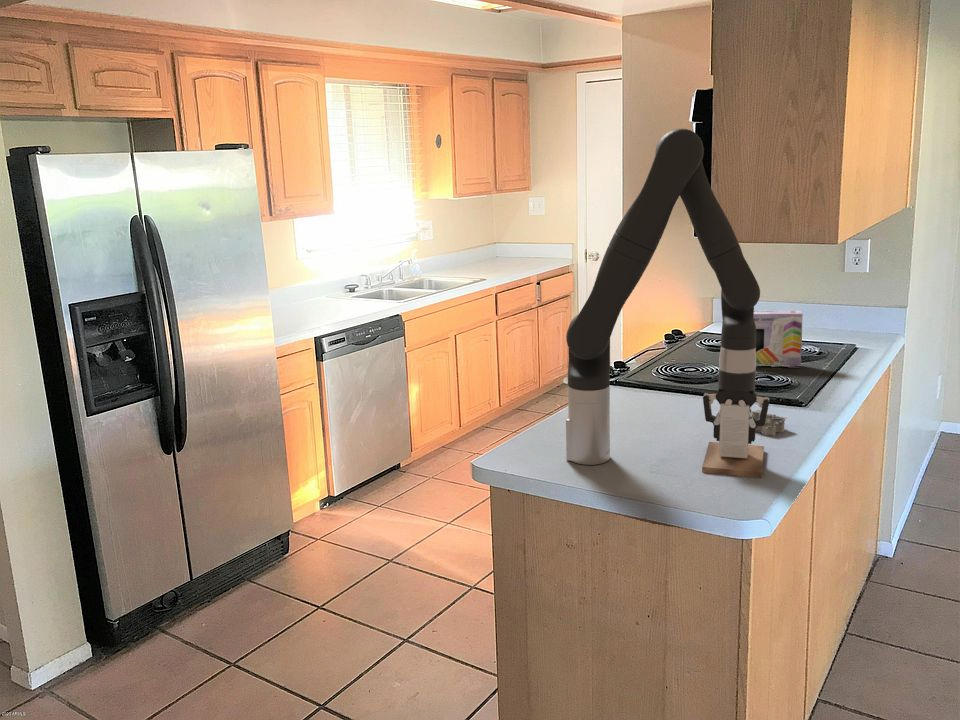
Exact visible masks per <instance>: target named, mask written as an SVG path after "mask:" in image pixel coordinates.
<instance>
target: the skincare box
mask: <svg viewBox="0 0 960 720" xmlns="http://www.w3.org/2000/svg"><path fill="white" fill-rule="evenodd" d="M724 404H725V403H721V405H720V404H719V405H720V406H719V407H720V408H719V410H720V441H718V442H719V456H720V457H734V458H747V457H748V445H749V444H748V435H749V407H750V406H749V405H747V406H743V407H741V406H740V405H738V404H731V405H730V406H729V405H724ZM750 408H751V407H750Z"/></svg>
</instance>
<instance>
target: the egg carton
mask: <svg viewBox="0 0 960 720" xmlns="http://www.w3.org/2000/svg"><path fill="white" fill-rule="evenodd" d="M752 413H753V416H754V418H755V419H759V418H760V414H761V409H758V410H753V411H752ZM787 419H788V416H787V417H783V416H779V415H776V414H772V413H767V416H766V420H765V425H764V426H757V427H756V432H759V433H761V434H762V435H764V436H775V435H776V433H784V432H785V421H786V420H787Z"/></svg>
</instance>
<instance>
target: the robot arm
mask: <svg viewBox="0 0 960 720" xmlns="http://www.w3.org/2000/svg"><path fill="white" fill-rule="evenodd" d="M704 151H705V149H704V144H703V141H702V140H701V138H700V136H699V135H698V134H697V132H695V131H693V130H690V129H688V128H676V129H675V128H674V129H672V130H670V131H668V132H666V133H665V134H664V135H662V136H661V137H660V139H659V140H658V142H657V145H656V147H655V155H654V158H653V161H652V164H651V167H650V169H649V171H648V175H647V177H646V179H645V181H644V184H643V186H642V187H641V190H640V191H639V193H638V195H637V197H636V198H635V199H634V200H633V202H632V203H631V205H630V206H629V208H628V209H627V211H626V212H625V214H624V215H623V217H622V219H621V220H620V222H619V224H618V226H617V227H616V229H615V232H614V234H613V235H612V237H611V239H610V242H609V243H608V245H607V248H606V250H605V252H604V255H603V258H602V260H601V264H600V265H599V269H598V272H597V274H596V278H595V281H594V284H593V287H592V289H591V291H590V294H589V296H588V298H587V299H586V301H585V303H584V305H583V307H582V308H581V310H580V311H579V313H578V314H577V315H576V316H574V317H573V319H571V321H570V323H569V324H568V328H567V331H566V336H565V338H566V340H565V341H566V344H567V348H568V349H567V350H568V365H567V368H568V369H567V399H568V401H567V405H568V407H567V409H568V416H567V419H565V441H566V442H565V444H566V445H565V446H566V447H565V450H566V451H565V452H566V458H565V459H566V461H571V462H573V463H575V464H579V465H588V466H589V465H590V466H592V465H593V466H595V465H600V464H605V463H607V462H608V461H609V460H610V459H611V458H610V457H611V435H610V434H611V414H610V413H611V410H610V409H611V408H610V407H611V405H610V404H611V403H610V402H611V400H610V399H611V397H610V395H611V393H610V391H611V389H610V388H611V386H610V385H611V384H610V383H611V382H610V381H611V380H610V379H611V336H612V334H613V331H614V329H615V325H616V323H617V321H618V318H619V316H620V314H621V311H622V310H623V307H624V305H625V304H626V302H627V300H628V299H629V297H630V296H631V294H632V293H633V291H634V290H635V288H636V287H637V285H638V283H639V282H640V280H641V278H642V277H643V275H644V273H645V271H646V269H647V268H648V266H649V264H650V262H651V260H652V258H653V256H654V254H655V252H656V250H657V248H658V246H659V244H660V241H661V239H662V237H663V234H664V233H665V230H666V227H667V224H668V223H669V219H670V217H671V214H672V212H673V209H674V208H675V204H676V202H677V200H678V199H679V198H680V199H681V201H682V203H683V205H684V207H685V210H686V212H687V214H688V216H689V219H690V223H691V224H692V227H693V230H694V233H695V235H696V237H697V240H698V242H699V244H700V247H701V249H702V252H703V254H704V256H705V258H706V261H707V263H708V264H709V266H710V267H711V269H712V271H713V272H714V273H715V275H716V279H717V281H718V283H719V286H720V288H721V291H720V293H721V294H720V296H721V297H720V302H721V303H720V305H721V306H720V307H721V319H722V321H721V323H722V324H721V333H720V334H721V335H720V336H721V340H720V341H721V342H720V350H719V351H720V352H719V357H718V358H719V361H718V385H717V387H718V388H717V391H716V393H709V392H704V393H703V396H702V402H703V410H704V419H705V421H706V422H707V423H712V425H713V439H716V441H715V442H719V441H720V409H719V410H718V412H717V413H716V416H715V415H713V413H712V406H711V405H712V404H713V403H714V400H716V401H717V402H718V404H719V405H721V403H725V404H724V405H729V406H730V405H731V404H738V405H740V406H741V407H743V406H747V405H749V406H750V407H749V435H748V445H752V443H753V442H755V440H756V432H757V431H756V427H757V426H764V425H765V420H766V416H767V414H768V410H769V406H770V405H769V404H770V397H768V396H764V397H763V396H757V394H756V391H755V390H756V373H757V372H756V370H757V367H756V348H755V347H756V325H755V321H754V310H755V306H756V305H757V304H758V302H759V301H760V297H761V289H760V285H759V282H758V280H757V279H756V276H755V274H754V273H753V271H752V270H751V267H750V265H749V263H748V261H747V260H746V258H745V256H744V253H743V251H742V247H741V245H740V243H739V240H738V238H737V237H736V236H737V235H736V233H735V232H734V229H733V226H732V225H731V223H730V221H729V219H728V217H727V215H726V213H725V212H724V210H723V208H722V207H721V205H720V203H719V200H718V199H717V197H716V195H715V194H714V192H713V189H712V187H711V185H710V183H709V180H708V177H707V174H706V171H705V168H704V164H703V159H704V154H705V153H704ZM755 403H758V407H759V408H760V410H761V414H760V418H759V419H755V418H754V416H753V413H752V412H753V411H752V406H753V405H754V404H755Z"/></svg>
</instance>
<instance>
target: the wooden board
mask: <svg viewBox="0 0 960 720" xmlns="http://www.w3.org/2000/svg"><path fill="white" fill-rule="evenodd" d="M764 451H765V445H754V444H748V457H747V458H734V457H720V456H719V441H708V444H707V448H706V452H705V455H704V459H703V463H702V469H701V472H702V473H707V474H719V475H729V476H739V477H751V478H763V477H762V476H763V467H764V466H763V463H764V455H765V454H764Z"/></svg>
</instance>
